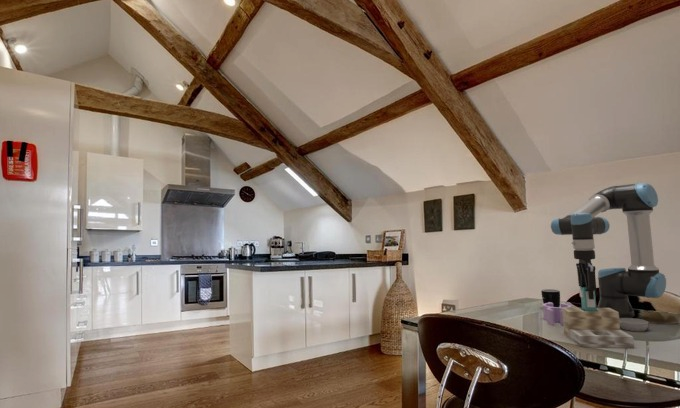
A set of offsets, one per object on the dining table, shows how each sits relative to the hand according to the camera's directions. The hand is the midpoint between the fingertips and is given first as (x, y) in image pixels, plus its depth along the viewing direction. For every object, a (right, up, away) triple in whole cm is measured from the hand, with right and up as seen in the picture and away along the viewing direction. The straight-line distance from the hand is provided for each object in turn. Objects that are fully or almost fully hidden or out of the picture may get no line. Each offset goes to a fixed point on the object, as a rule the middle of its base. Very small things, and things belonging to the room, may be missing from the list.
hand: (588, 305), depth 156 cm
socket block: (-1, -12, -6) cm, 14 cm away
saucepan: (+21, -13, +8) cm, 26 cm away
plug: (0, -5, 0) cm, 5 cm away
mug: (+13, -16, +50) cm, 54 cm away
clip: (+3, -15, +27) cm, 30 cm away
